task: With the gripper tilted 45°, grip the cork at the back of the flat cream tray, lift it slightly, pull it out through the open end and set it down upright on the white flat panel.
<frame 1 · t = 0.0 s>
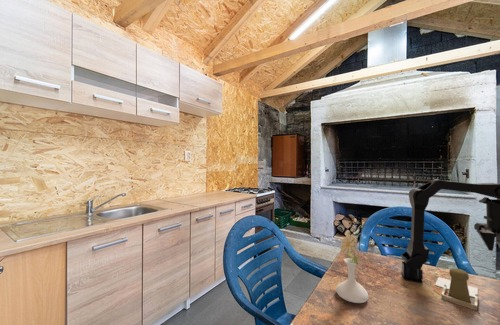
hand: (498, 254, 83), 15 cm above the table, tool pointing down, fingers open, 9 cm apart
cork: (459, 299, 79), resting in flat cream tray
flower in vase: (352, 298, 81), on the table
white flat panel: (461, 288, 85), on the table
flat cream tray: (459, 299, 79), on the table
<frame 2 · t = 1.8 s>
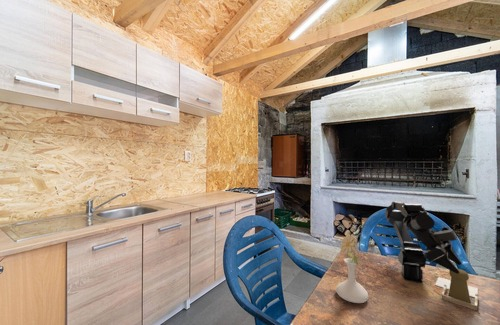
hand: (459, 268, 79), 12 cm above the table, tool tilted 45°, fingers open, 9 cm apart
nothing on the table moved.
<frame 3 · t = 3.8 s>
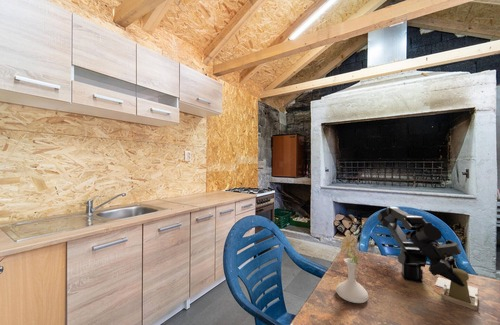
hand: (464, 283, 78), 7 cm above the table, tool tilted 45°, fingers closed on cork, 5 cm apart
cork: (459, 299, 79), resting in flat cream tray, touching gripper
everything else where it was.
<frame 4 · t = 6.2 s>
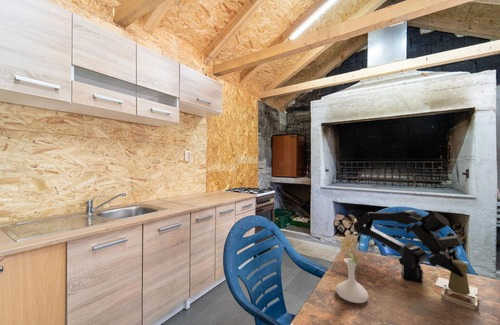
hand: (463, 274, 80), 9 cm above the table, tool tilted 45°, fingers closed on cork, 5 cm apart
cork: (458, 290, 81), point 2 cm above the table, touching gripper
everything else where it was.
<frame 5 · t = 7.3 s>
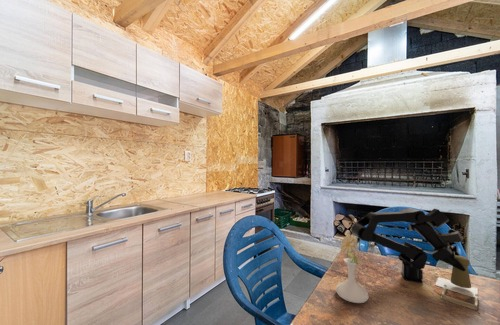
hand: (465, 268, 84), 9 cm above the table, tool tilted 45°, fingers closed on cork, 5 cm apart
cork: (460, 284, 85), point 2 cm above the table, touching gripper
everything else where it was.
when the fingers open (8 cm above the table, at t = 8.5 s): cork stays where it is, resting on white flat panel.
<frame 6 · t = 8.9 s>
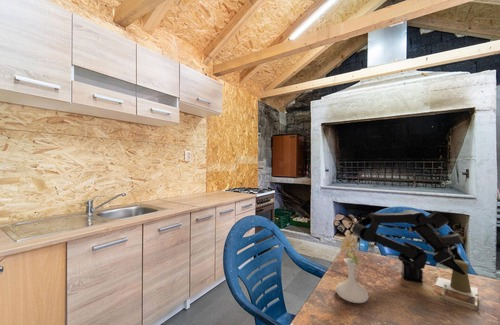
hand: (465, 270, 84), 8 cm above the table, tool tilted 45°, fingers open, 9 cm apart
cork: (460, 288, 85), resting on white flat panel
everything else where it was.
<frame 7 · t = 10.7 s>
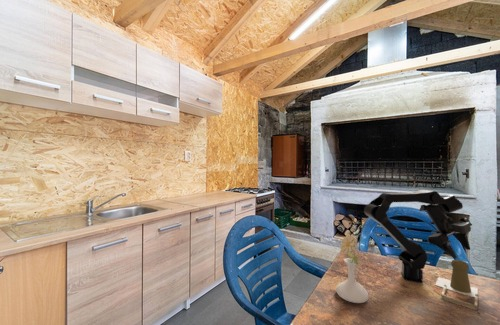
hand: (462, 253, 88), 13 cm above the table, tool tilted 25°, fingers open, 9 cm apart
nothing on the table moved.
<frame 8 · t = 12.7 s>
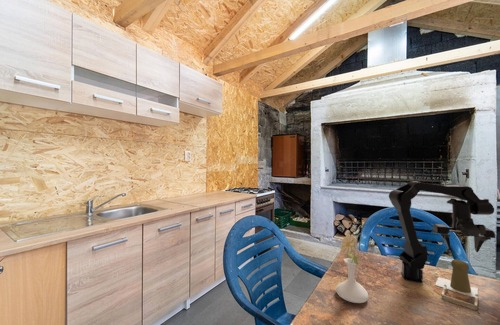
hand: (462, 250, 92), 13 cm above the table, tool pointing down, fingers open, 9 cm apart
nothing on the table moved.
at the end: cork 0.4 cm from the target spot, resting on white flat panel; cork tilted 0°; the gripper is holding nothing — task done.
